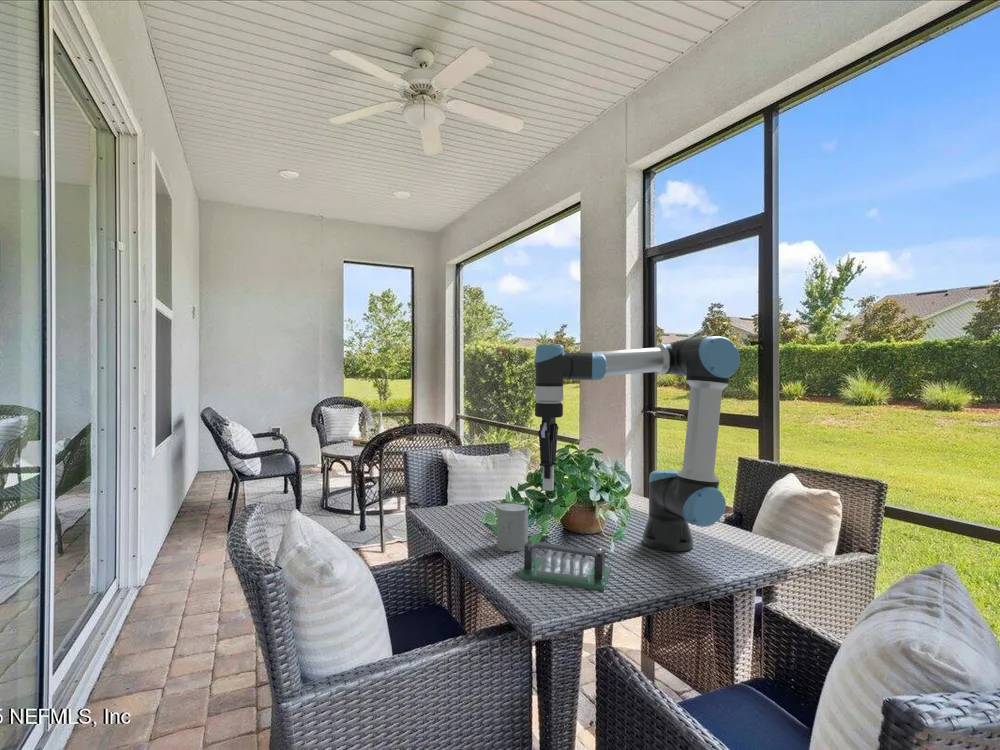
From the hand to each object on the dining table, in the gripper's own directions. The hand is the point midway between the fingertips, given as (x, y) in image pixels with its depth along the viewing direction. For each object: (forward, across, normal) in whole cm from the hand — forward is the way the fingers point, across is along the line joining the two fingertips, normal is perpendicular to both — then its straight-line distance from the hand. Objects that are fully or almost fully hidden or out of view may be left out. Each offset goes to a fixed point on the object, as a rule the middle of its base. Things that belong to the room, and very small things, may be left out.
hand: (548, 489), depth 139 cm
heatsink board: (+22, 0, +5) cm, 23 cm away
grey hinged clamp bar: (+16, 0, +6) cm, 17 cm away
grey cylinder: (+23, -16, -15) cm, 31 cm away
